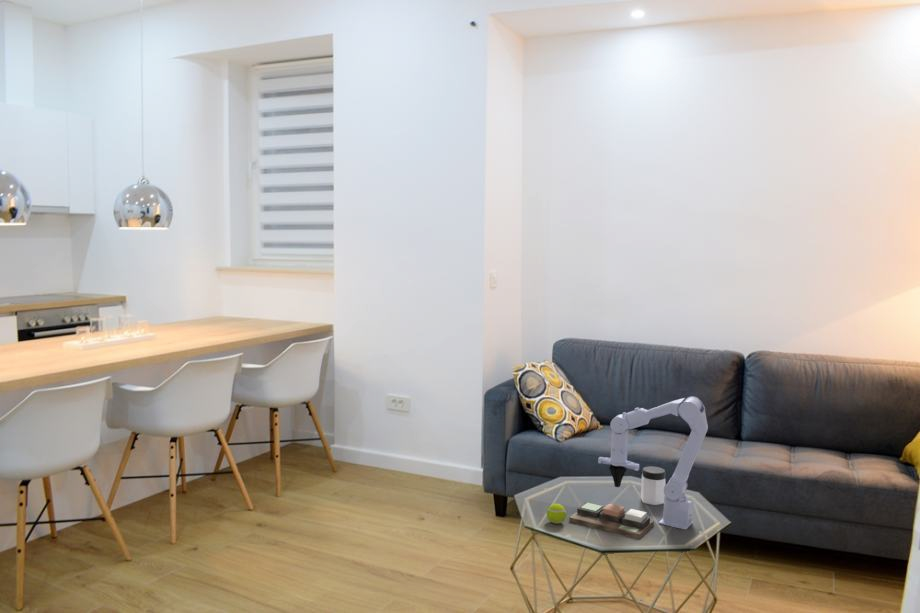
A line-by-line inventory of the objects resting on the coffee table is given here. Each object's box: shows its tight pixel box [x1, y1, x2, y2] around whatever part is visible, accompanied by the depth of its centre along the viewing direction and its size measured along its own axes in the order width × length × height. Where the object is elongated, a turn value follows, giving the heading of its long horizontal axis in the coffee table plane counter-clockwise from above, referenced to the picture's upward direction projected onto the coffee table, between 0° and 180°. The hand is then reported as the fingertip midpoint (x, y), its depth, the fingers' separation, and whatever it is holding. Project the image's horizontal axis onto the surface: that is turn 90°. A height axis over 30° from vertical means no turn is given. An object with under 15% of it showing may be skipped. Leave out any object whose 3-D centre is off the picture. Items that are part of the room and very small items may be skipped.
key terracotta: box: [603, 503, 625, 517], centre depth 267 cm, size 6×6×2 cm
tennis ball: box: [546, 503, 567, 525], centre depth 264 cm, size 7×7×7 cm
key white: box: [625, 508, 648, 523], centre depth 262 cm, size 6×6×2 cm
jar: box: [640, 465, 666, 506], centre depth 287 cm, size 9×8×12 cm
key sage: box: [581, 502, 603, 512], centre depth 271 cm, size 6×6×2 cm
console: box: [568, 501, 655, 540], centre depth 266 cm, size 25×14×3 cm, turn 57°
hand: (617, 486), depth 275 cm, fingers closed
